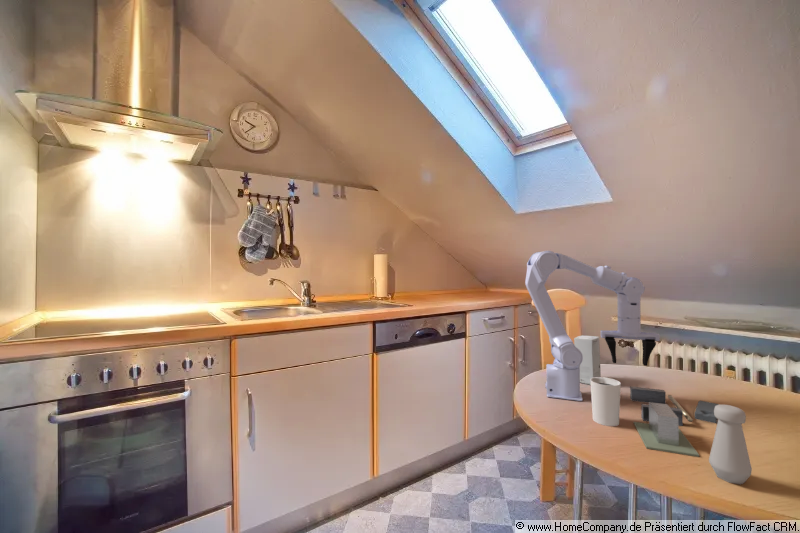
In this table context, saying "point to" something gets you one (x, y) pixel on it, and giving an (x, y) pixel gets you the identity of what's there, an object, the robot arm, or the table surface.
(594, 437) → the table surface
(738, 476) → the salt shaker
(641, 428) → the mat
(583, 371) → the skincare box
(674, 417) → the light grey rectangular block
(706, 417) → the bracket
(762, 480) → the table surface
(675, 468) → the table surface
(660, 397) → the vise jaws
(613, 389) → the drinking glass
